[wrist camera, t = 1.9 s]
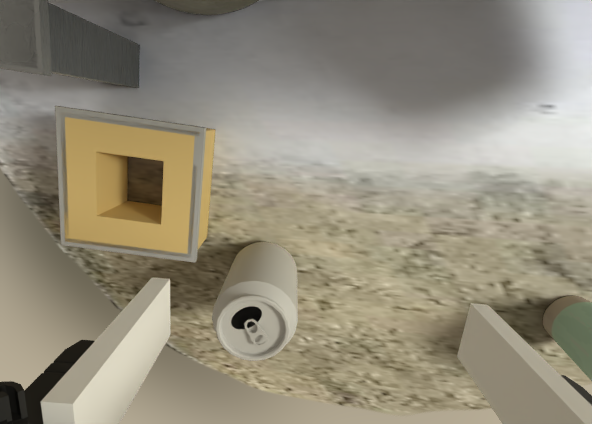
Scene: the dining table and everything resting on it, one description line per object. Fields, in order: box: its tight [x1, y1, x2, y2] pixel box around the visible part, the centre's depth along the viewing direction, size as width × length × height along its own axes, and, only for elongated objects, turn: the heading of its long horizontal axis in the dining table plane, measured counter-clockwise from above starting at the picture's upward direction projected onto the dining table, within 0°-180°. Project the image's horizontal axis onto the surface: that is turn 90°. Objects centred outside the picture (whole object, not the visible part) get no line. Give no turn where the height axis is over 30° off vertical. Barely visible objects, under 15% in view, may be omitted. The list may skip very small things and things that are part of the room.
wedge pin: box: [0, 0, 140, 88], centre depth 27 cm, size 5×5×14 cm
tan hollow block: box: [55, 106, 215, 262], centre depth 34 cm, size 13×13×6 cm
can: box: [212, 242, 298, 361], centre depth 34 cm, size 8×8×12 cm
